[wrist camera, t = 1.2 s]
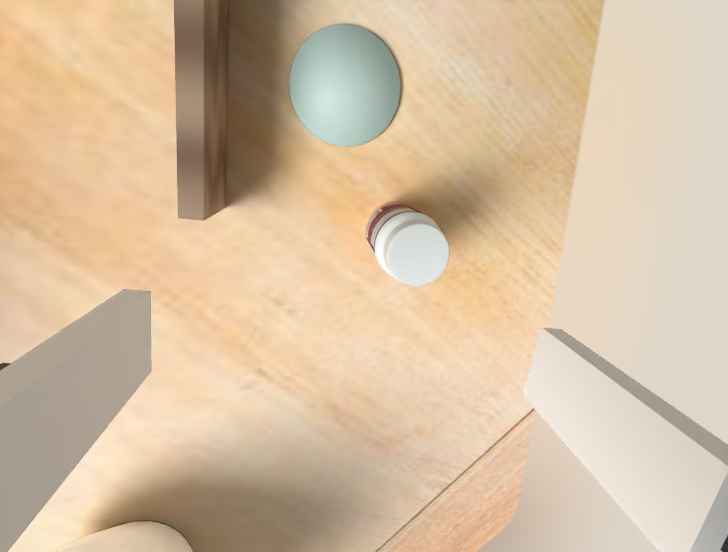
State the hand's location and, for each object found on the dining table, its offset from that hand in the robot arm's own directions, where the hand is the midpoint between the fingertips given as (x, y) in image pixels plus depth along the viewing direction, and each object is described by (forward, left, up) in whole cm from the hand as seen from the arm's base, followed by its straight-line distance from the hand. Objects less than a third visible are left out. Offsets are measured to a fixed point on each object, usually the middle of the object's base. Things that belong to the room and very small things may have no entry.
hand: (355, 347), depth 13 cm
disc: (-11, 0, -19) cm, 22 cm away
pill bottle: (-1, +5, -20) cm, 20 cm away
